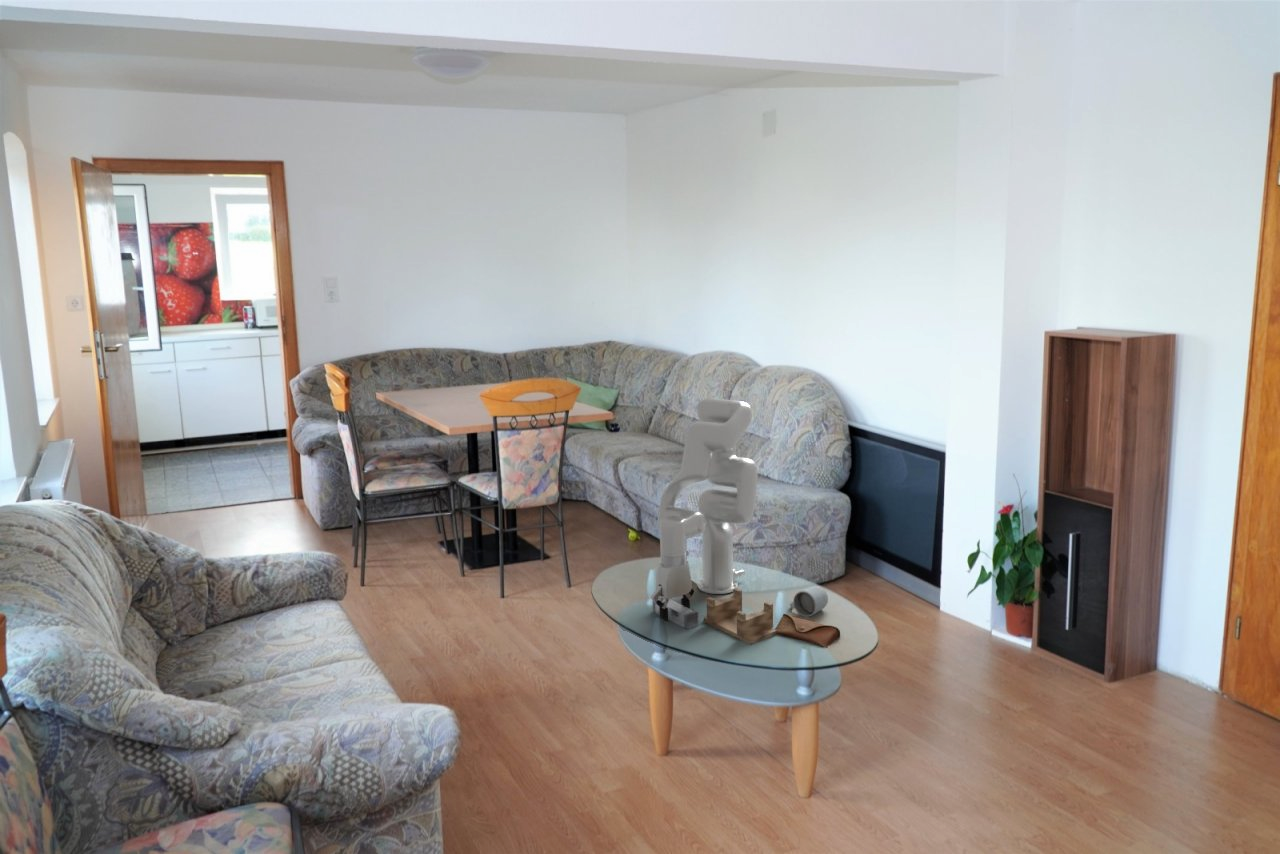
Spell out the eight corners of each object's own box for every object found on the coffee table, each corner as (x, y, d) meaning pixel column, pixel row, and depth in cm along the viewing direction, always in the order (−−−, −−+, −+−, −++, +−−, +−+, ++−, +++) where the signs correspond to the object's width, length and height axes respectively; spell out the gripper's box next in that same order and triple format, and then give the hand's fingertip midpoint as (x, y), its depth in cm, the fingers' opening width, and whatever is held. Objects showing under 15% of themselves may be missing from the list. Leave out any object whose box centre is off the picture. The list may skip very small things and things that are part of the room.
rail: (664, 608, 306) (663, 595, 305) (698, 625, 294) (697, 611, 293) (652, 611, 304) (652, 598, 303) (686, 629, 291) (686, 615, 290)
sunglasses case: (768, 633, 287) (774, 610, 288) (778, 637, 292) (784, 614, 294) (827, 648, 276) (833, 624, 278) (836, 652, 282) (842, 628, 283)
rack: (731, 611, 302) (731, 585, 300) (778, 633, 286) (778, 606, 284) (701, 621, 296) (701, 595, 294) (748, 645, 280) (748, 617, 278)
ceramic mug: (829, 610, 301) (829, 586, 299) (815, 619, 295) (815, 594, 293) (798, 602, 308) (798, 578, 306) (784, 611, 302) (783, 587, 300)
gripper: (688, 548, 302) (690, 604, 306) (641, 562, 292) (643, 619, 296) (705, 555, 296) (706, 612, 300) (657, 569, 286) (659, 628, 291)
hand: (674, 615), depth 298 cm, fingers open, 7 cm apart
